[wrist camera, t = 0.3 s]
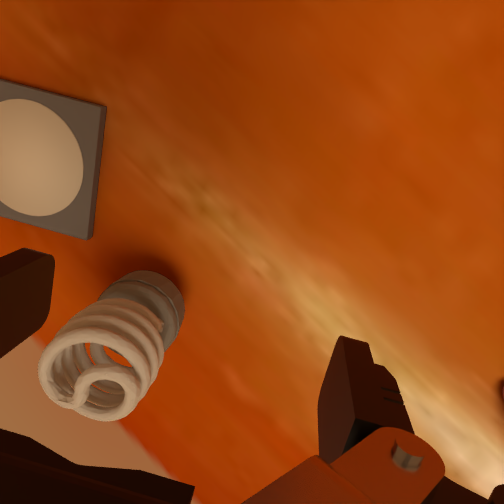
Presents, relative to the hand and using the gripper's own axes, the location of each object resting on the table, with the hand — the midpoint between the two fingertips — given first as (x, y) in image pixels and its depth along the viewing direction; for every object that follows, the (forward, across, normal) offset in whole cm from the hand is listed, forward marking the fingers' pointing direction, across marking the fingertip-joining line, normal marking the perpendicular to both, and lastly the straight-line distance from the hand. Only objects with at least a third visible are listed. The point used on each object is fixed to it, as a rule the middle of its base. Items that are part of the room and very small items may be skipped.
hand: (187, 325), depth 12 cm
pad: (+18, +15, 0) cm, 24 cm away
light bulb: (+19, +5, +8) cm, 21 cm away
